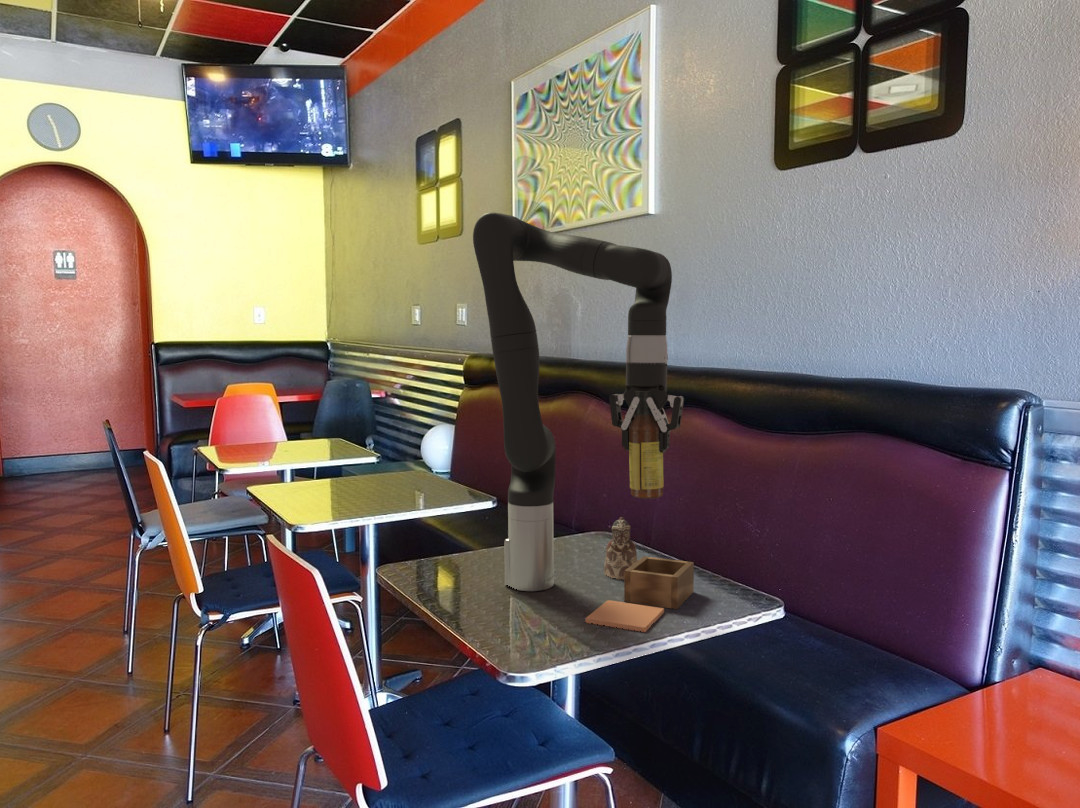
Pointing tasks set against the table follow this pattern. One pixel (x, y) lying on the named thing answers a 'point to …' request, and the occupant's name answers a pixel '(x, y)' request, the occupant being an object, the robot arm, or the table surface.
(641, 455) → the sauce bottle
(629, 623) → the terracotta mat
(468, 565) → the table surface
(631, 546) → the figurine
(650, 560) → the square holder
